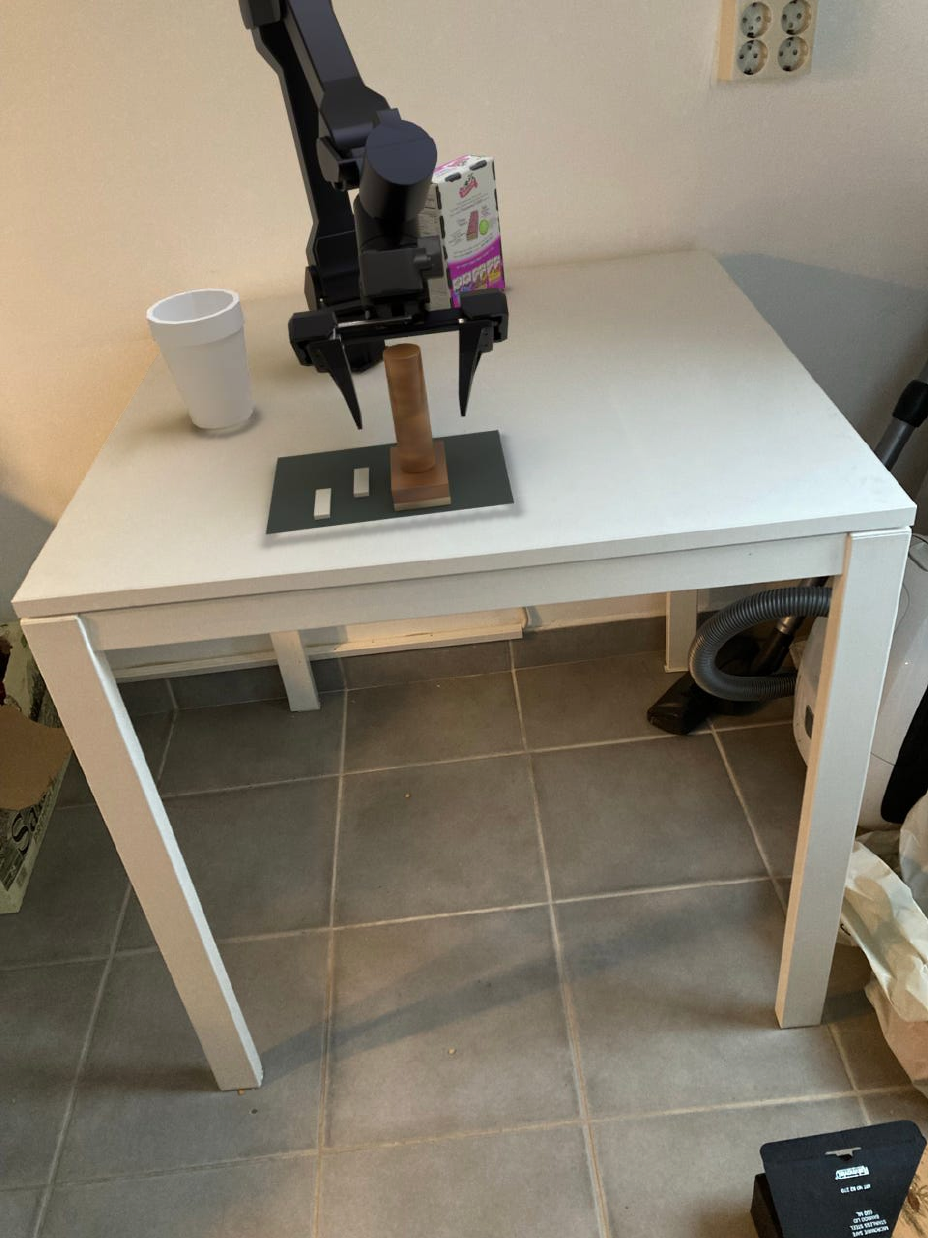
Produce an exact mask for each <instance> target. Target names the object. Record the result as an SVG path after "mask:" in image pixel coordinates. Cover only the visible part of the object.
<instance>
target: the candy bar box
mask: <svg viewBox="0 0 928 1238" xmlns="http://www.w3.org/2000/svg"><path fill="white" fill-rule="evenodd" d="M494 160H495V158H494V157H493V156H482V155H472V154H466V155H463V156H461V157H458V158H456V159H454V160H451V161H449V162H446V163H444V164H442V165H439V166H437V167H435V170H434V174H433V178H432V181H431V185H430V189H429V193H428V196H427V200H426V204H425V207H424V209H422V211H421V212H420V213H419V220H420V228H421V236H422V237H428V236H436V235H439V237H440V245H441V253H442V261H443V269H444V277H443V278H438V279H430V280H428V286H429V294H430V307H431V311H432V310H440V309H448V308H456V307H460V294H459V292H462V291H470V290H478V289H486V288H493V287H499V288H500V289H501V290H502V291H503V290H504V289H506V279H505V269H504V268H505V267H504V258H503V248H502V235H501V226H500V214H499V203H498V202H499V201H498V193H497V192H498V191H497V182H496V172H495V171H496V170H495V161H494Z"/></svg>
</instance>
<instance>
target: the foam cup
mask: <svg viewBox="0 0 928 1238" xmlns="http://www.w3.org/2000/svg"><path fill="white" fill-rule="evenodd" d="M146 321H147V323H148V327H149V330H150V333H151V336H152V340H153V341H154V342H156V344H157V347H158V348H159V351H160V353H161V356H162V358H163V360H164V362H165V364H166V366H167V369H168V371H169V373H170V375H171V377H172V379H173V382H174V383H175V386H176V388H177V390H178V392H179V395H180V397H181V399H182V401H183V403H184V406H185V408H186V410H187V413H188V415H189V416H190V419H191V421H192V424H193V425H195V426H197V427H198V428H200V429H207V430H215V429H217V430H218V429H224V428H228V427H231V426H235V425H238V424H240V423H242V422H243V421H245V420H247V419H249V418H250V417H251V415H252V414H253V412H254V406H253V396H252V388H251V379H250V370H249V362H248V352H247V346H246V337H245V327H244V326H245V324H246V321H245V317H244V312H243V308H242V305H241V300H240V297H239V293H238V292H235V291H233V290H230V289H228V288H214V287H213V288H212V287H209V288H200V289H192V290H188V291H184V292H179V293H177V294H172V295H170V296H168V297H165V298H163V299H161V300H159V301H156V302H154V303H153V304H152V305H151V306H150V307H149V308H148V309H147V310H146Z"/></svg>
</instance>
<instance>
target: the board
mask: <svg viewBox="0 0 928 1238" xmlns="http://www.w3.org/2000/svg"><path fill="white" fill-rule="evenodd" d="M432 438H433V442H435V441H443V443H444V451H445V459H446V467H447V475H448V483H449V491H450V500H451V504H449V505H442V506H434V507H426V508H418V509H410V510H402V511H395V508H394V502H393V496H392V489H391V458H390V447H396V446H397V442H391V443H390V442H389V443H383V444H375V445H374V444H373V445H368V446H359V447H358V446H357V447H352V448H344V449H336V450H329V451H328V450H327V451H320V452H312V453H303V454H295V455H289V456H282V457H281V456H280V457H277V460H276V466H275V471H274V472H275V474H274V479H273V480H274V481H273V485H272V491H271V499H270V506H269V509H268V510H269V511H268V517H267V523H266V524H267V525H266V530H265V535H272V534H273V535H274V534H281V533H289V532H294V531H295V532H296V531H304V530H311V529H313V530H314V529H320V528H329V527H337V526H343V525H352V524H361V523H367V522H375V521H384V520H393V519H400V518H401V519H402V518H407V517H416V516H425V515H431V514H439V513H448V512H456V511H463V510H471V509H472V510H473V509H478V508H479V509H480V508H488V507H495V506H503V505H511V504H515V500H514V496H513V491H512V488H511V487H512V485H511V483H510V477H509V473H508V469H507V463H506V460H505V455H504V451H503V446H502V442H501V437H500V432H499V430H498V429H495V430H494V429H493V430H487V431H479V432H471V433H462V434H454V435H446V436H438V437H432ZM361 468H369V471H370V488H369V496H365V497H357V498H354V469H361ZM328 488H331V491H332V499H331V515H330V518H327V519H319V520H315V519H314V508H315V497H316V490H321V489H328Z"/></svg>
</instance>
